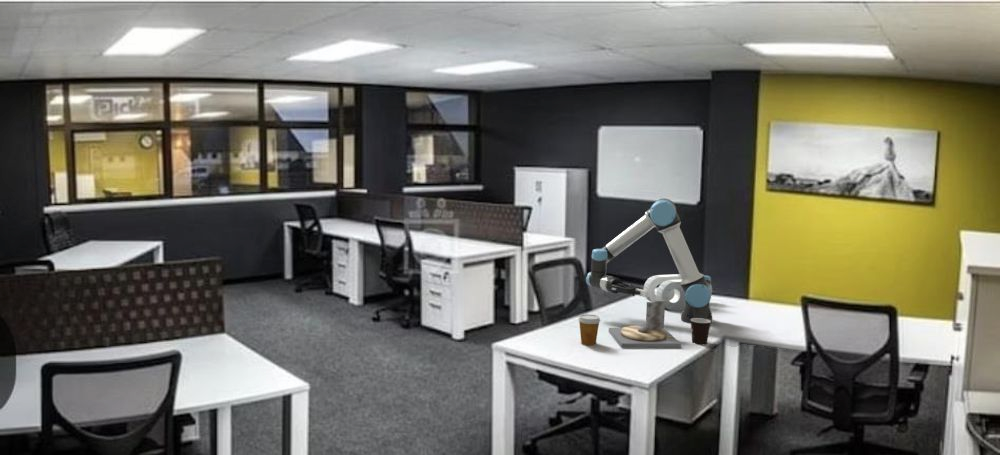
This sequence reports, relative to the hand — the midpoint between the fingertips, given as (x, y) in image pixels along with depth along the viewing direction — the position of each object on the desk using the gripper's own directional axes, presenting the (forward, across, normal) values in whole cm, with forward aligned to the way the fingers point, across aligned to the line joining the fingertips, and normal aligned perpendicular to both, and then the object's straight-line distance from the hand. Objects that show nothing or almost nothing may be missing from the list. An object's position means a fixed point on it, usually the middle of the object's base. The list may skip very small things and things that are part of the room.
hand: (646, 294), depth 327 cm
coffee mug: (+22, -13, -19) cm, 31 cm away
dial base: (+6, +6, -19) cm, 21 cm away
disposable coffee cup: (-2, +32, -20) cm, 38 cm away
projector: (-34, -61, -19) cm, 73 cm away
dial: (+6, +6, -17) cm, 18 cm away
